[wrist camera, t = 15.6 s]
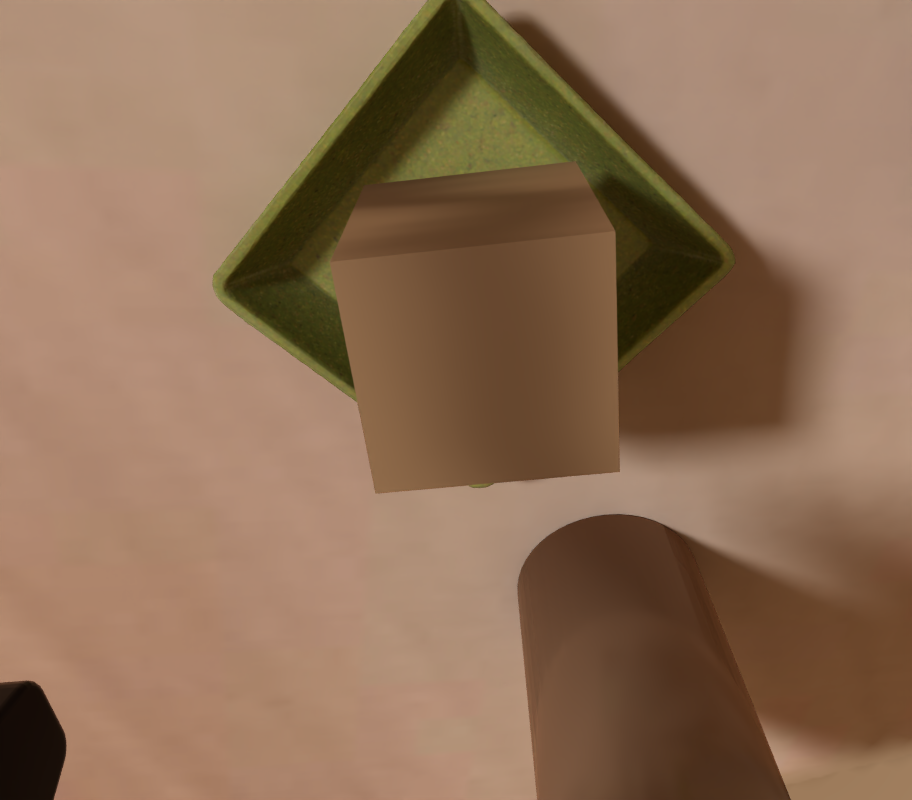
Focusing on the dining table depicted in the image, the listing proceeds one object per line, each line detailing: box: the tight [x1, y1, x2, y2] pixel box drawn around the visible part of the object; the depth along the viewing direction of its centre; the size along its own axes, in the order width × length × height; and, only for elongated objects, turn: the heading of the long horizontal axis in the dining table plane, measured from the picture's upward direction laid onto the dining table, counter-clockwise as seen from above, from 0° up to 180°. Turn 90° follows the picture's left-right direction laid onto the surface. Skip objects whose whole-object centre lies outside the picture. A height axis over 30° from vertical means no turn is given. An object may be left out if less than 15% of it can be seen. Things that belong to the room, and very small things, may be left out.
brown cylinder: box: [517, 515, 791, 800], centre depth 19 cm, size 6×6×13 cm
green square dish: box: [213, 0, 735, 488], centre depth 19 cm, size 9×9×2 cm
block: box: [330, 161, 620, 493], centre depth 16 cm, size 4×4×5 cm
